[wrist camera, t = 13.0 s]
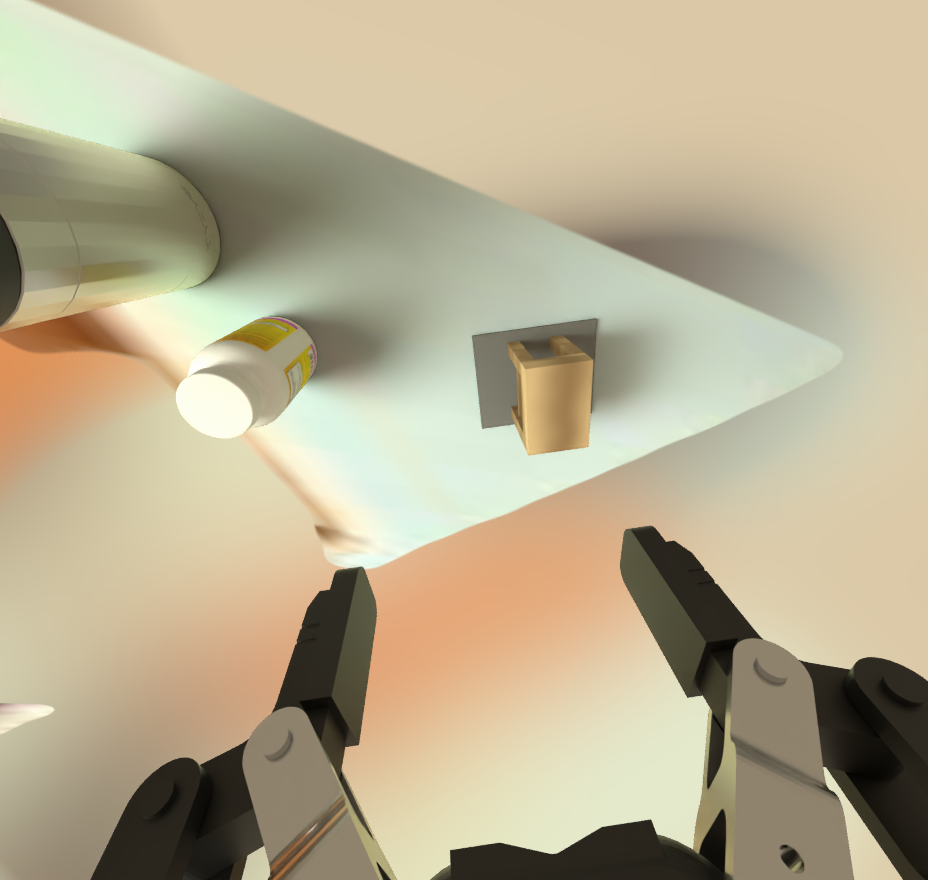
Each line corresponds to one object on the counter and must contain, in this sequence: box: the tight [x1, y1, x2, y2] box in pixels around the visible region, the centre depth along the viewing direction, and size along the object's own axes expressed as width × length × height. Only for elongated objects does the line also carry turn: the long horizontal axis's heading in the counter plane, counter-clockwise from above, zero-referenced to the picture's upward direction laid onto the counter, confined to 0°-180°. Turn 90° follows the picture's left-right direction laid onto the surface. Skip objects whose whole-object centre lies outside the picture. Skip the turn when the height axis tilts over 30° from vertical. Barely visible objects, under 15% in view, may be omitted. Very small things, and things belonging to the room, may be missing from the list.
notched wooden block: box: [507, 335, 593, 455], centre depth 35 cm, size 5×8×8 cm
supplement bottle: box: [176, 316, 317, 438], centre depth 30 cm, size 7×7×13 cm
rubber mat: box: [472, 319, 597, 429], centre depth 38 cm, size 12×10×1 cm
